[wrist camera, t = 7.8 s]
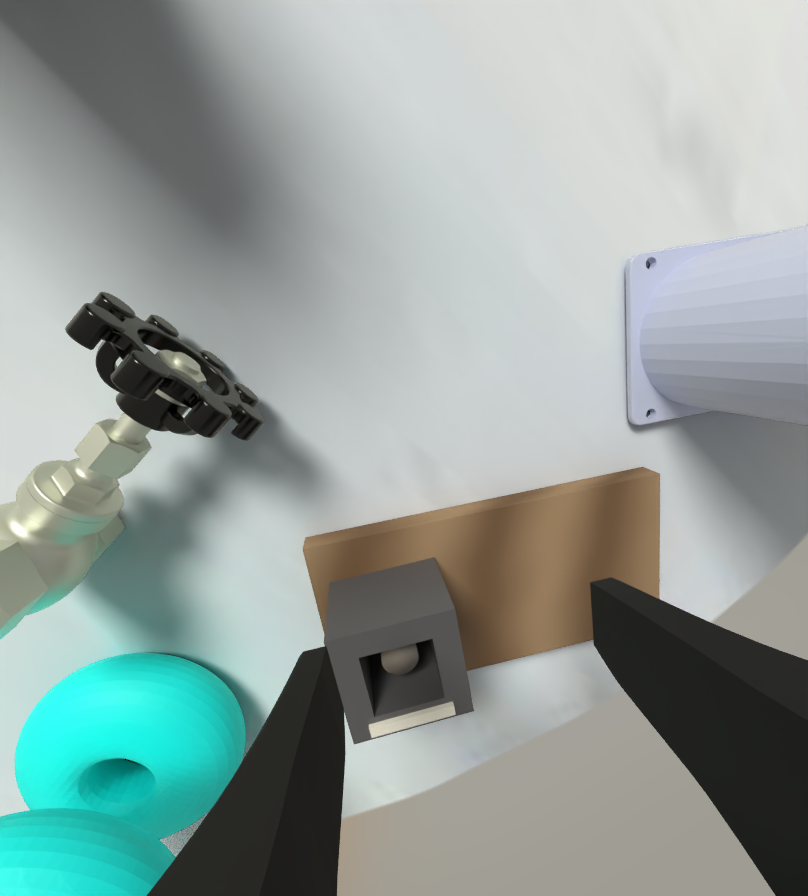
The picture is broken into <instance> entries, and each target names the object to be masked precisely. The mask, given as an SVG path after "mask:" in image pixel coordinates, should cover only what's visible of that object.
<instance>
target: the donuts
mask: <svg viewBox="0 0 808 896" xmlns="http://www.w3.org/2000/svg"><path fill="white" fill-rule="evenodd" d="M245 742H246V730H245V722H244V717H243V714H242V711H241V708H240V706H239V703H238V701H237V699H236V697H235V696H234V694H233V693H232V691H231V690H230V689H229V688H228V686H227V685H226V684H225V683H224V682H223V681H222V680H221V679H220V678H218V677H217V676H216V675H215V674H213V673H212V672H210V671H209V670H207V669H205V668H204V667H202V666H200V665H198V664H196V663H193V662H191V661H188V660H186V659H183V658H180V657H176V656H171V655H165V654H158V653H132V654H124V655H118V656H114V657H110V658H106V659H103V660H100V661H98V662H95V663H92V664H90V665H88V666H85V667H83V668H81V669H79V670H77V671H76V672H74V673H72V674H71V675H69V676H68V677H66V678H65V679H64V680H62V681H61V682H59V683H58V684H57V685H55V686H54V687H53V688H52V689H51V690H50V691H49V692H48V693H47V694H46V695H45V696H44V697H43V698H42V699H41V700H40V702H39V703H38V704H37V705H36V706H35V708H34V709H33V711H32V712H31V714H30V715H29V717H28V719H27V721H26V722H25V724H24V726H23V728H22V731H21V733H20V737H19V740H18V743H17V747H16V753H15V775H16V781H17V785H18V788H19V790H20V792H21V795H22V797H23V799H24V801H25V803H26V804H27V806H28V807H29V809H30V810H29V811H24V812H18V813H14V814H9V815H5V816H1V817H0V896H147V894H148V893H149V892H150V891H151V889H152V888H153V887H154V885H155V884H156V883H157V882H158V880H159V879H160V878H161V876H162V875H163V874H164V873H165V871H166V870H167V869H168V867H169V866H170V865H171V863H172V862H173V861H174V860H175V856H174V855H173V854H172V853H171V851H170V850H169V849H168V848H167V847H166V846H165V845H164V844H163V843H162V842H161V841H160V839H162V838H165V837H168V836H170V835H172V834H174V833H176V832H179V831H181V830H183V829H185V828H186V827H188V826H190V825H191V824H193V823H194V822H196V821H197V820H199V819H200V818H201V817H202V816H204V815H205V814H206V813H207V812H208V811H209V810H211V809H212V807H213V806H214V804H215V803H216V801H217V800H218V798H219V797H220V795H221V794H222V792H223V791H224V789H225V788H226V786H227V785H228V783H229V782H230V780H231V779H232V777H233V776H234V774H235V772H236V771H237V769H238V767H239V766H240V764H241V762H242V758H243V754H244V750H245ZM124 759H128V760H132V761H135V762H138V763H134V762H130V761H127V760H124Z"/></svg>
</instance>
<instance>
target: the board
mask: <svg viewBox="0 0 808 896" xmlns="http://www.w3.org/2000/svg"><path fill="white" fill-rule="evenodd" d="M659 548H660V474H659V473H657V472H654V471H652V470H649V469H647V468H644V467H641V468H636V469H631V470H626V471H622V472H617V473H612V474H607V475H602V476H598V477H593V478H588V479H583V480H579V481H574V482H569V483H564V484H559V485H555V486H550V487H545V488H540V489H536V490H531V491H526V492H521V493H516V494H512V495H507V496H502V497H497V498H493V499H488V500H483V501H478V502H473V503H469V504H464V505H459V506H454V507H450V508H445V509H440V510H435V511H431V512H426V513H421V514H416V515H411V516H407V517H402V518H397V519H392V520H388V521H383V522H378V523H373V524H368V525H364V526H359V527H354V528H349V529H345V530H340V531H335V532H330V533H325V534H321V535H316V536H311V537H306V538H305V542H304V546H303V553H304V556H305V560H306V564H307V568H308V572H309V576H310V580H311V584H312V588H313V591H314V595H315V599H316V603H317V607H318V611H319V615H320V619H321V622H322V626H323V630H324V634H325V625H326V614H327V603H328V592H329V583H331V582H335V581H339V580H343V579H347V578H351V577H355V576H359V575H363V574H368V573H372V572H376V571H380V570H384V569H388V568H392V567H396V566H400V565H404V564H408V563H412V562H416V561H421V560H425V559H429V558H433V557H434V558H435V560H436V563H437V565H438V568H439V570H440V573H441V575H442V578H443V580H444V583H445V585H446V588H447V590H448V593H449V595H450V598H451V600H452V602H453V605H454V607H455V611H456V617H457V622H458V628H459V633H460V639H461V644H462V650H463V655H464V660H465V666H466V671H468V670H472V669H476V668H480V667H484V666H489V665H493V664H497V663H501V662H505V661H509V660H513V659H517V658H521V657H525V656H529V655H533V654H537V653H541V652H545V651H549V650H553V649H557V648H561V647H565V646H569V645H574V644H578V643H582V642H586V641H590V640H594V639H593V623H592V607H591V590H590V582H593V581H598V580H602V579H606V578H610V577H612V578H614V579H617V580H619V581H621V582H624V583H626V584H628V585H630V586H632V587H634V588H637V589H639V590H641V591H643V592H645V593H647V594H649V595H652V596H654V597H656V598H658V599H659ZM418 659H419V656H418V651H417V646H416V643H414V644H410V645H407V646H403V647H399V648H395V649H391V650H388V651H384V652H381V661H382V666H383V668H384V669H385V670H386V671H387V672H389V673H391V674H395V675H401V674H405V673H408V672H410V671H411V670H412V669H413V668H414V667H415V666H416V665H417V663H418Z"/></svg>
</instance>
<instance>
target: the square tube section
mask: <svg viewBox="0 0 808 896" xmlns="http://www.w3.org/2000/svg"><path fill="white" fill-rule="evenodd" d="M414 643H416V646H417V651H418V656H419V659H418V663H417V665H416V666H415V667H414V668H413V669H412V670H411V671H410V672H408V673H405V674H401V675H395V674H391V673H389V672H387V671H386V670H385V669H384V668H383V666H382V661H381V652H384V651H388V650H391V649H395V648H399V647H403V646H407V645H410V644H414ZM324 644H325V646H327V650H328V653H329V657H330V661H331V664H332V668H333V671H334V675H335V678H336V682H337V686H338V689H339V693H340V696H341V700H342V704H343V707H344V712H345V715H346V719H347V722H348V725H349V729H350V732H351V736H352V739H353V742H354V744H357V743H361V742H364V741H368V740H372V739H375V738H379V737H382V736H386V735H390V734H393V733H397V732H400V731H404V730H407V729H411V728H415V727H418V726H422V725H425V724H429V723H433V722H436V721H440V720H443V719H447V718H450V717H454V716H458V715H461V714H465V713H468V712H472V711H474V709H473V704H472V698H471V693H470V688H469V682H468V677H467V671H466V666H465V660H464V655H463V650H462V644H461V639H460V633H459V628H458V622H457V617H456V611H455V607H454V605H453V602H452V600H451V598H450V595H449V593H448V590H447V588H446V585H445V583H444V580H443V578H442V575H441V573H440V570H439V568H438V565H437V563H436V560H435V558H434V557H433V558H429V559H425V560H421V561H416V562H412V563H408V564H404V565H400V566H396V567H392V568H388V569H384V570H380V571H376V572H372V573H368V574H363V575H359V576H355V577H351V578H347V579H343V580H339V581H335V582H331V583H329V592H328V603H327V614H326V625H325V636H324Z"/></svg>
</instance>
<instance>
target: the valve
mask: <svg viewBox="0 0 808 896" xmlns="http://www.w3.org/2000/svg"><path fill="white" fill-rule="evenodd" d="M65 330H66V332H67V334H68V335H69V336H70V337H71V338H72V339H73V340H75V341H76V342H77V343H79V344H80V345H82V346H84V347H86V348H88V349H90V350H92V349H94V347H95V346H96V345H97V344H98V342H99V341H100V340H101V339H102V340H104V341H103V342H102V343H101V345H100V346H99V348H98V351H97V355H96V368H97V371H98V373H99V375H100V377H101V378H102V380H103V381H104V382H105V383H106V384H107V385H109V386H110V387H111V388H113V389H114V390H116V391H118V392H119V394H118V395H117V396H116V402H117V405H118V406H119V407H120V409H121V410H122V411H123V412H124V413H123V415H122V416H121V417H120V418H119V419H118V420H114V419H107V420H103V421H101V422H98V423H96V424H95V425H94V427H93V428H92V429H91V430H90V431H89V433H88V434H87V435H86V436H85V437H84V439H83V440H82V441H81V442H80V444H79V445H78V446H77V447H76V448H75V452H76V453H77V455H78V456H79V457H80V458H77V459H73V460H71V461H62V460H56V461H48V462H44V463H42V464H40V465H38V466H36V467H35V468H34V469H33V471H32V472H31V473H30V474H29V475H28V477H27V478H26V479H25V480H24V482H23V483H22V484H21V485H20V486H19V488H18V490H17V492H16V499H17V501H15V502H10V503H6V504H2V505H0V639H1V638H2V637H4V636H5V635H6V634H7V633H9V632H10V631H11V630H12V629H13V628H15V627H16V626H17V624H18V623H19V622H20V621H21V620H22V619H23V617H24V616H26V615H29V614H32V613H35V612H38V611H40V610H42V609H45V608H47V607H49V606H51V605H53V604H55V603H56V602H58V601H59V600H61V599H62V598H64V597H65V596H67V595H68V594H69V593H70V592H71V591H72V590H73V589H74V588H76V586H77V585H78V584H79V583H80V582H81V581H82V580H83V579H84V577H85V576H86V574H87V573H88V571H89V569H90V567H91V565H92V563H93V562H94V561H96V560H97V559H98V558H99V557H100V556H101V555H102V554H103V553H104V552H105V551H106V549H107V548H108V547H109V546H110V545H111V544H112V543H113V541H114V540H115V539H116V538H117V537H118V536H119V534H120V533H121V532H122V531H123V530H124V529H125V528H124V525H123V523H122V521H121V519H120V518H119V516H118V513H119V511H120V510H121V509H122V507H123V504H124V498H123V494H122V492H121V490H120V489H119V483H118V480H117V479H119V478H120V477H122V476H124V475H126V474H128V473H130V472H131V471H132V470H133V469H134V468H135V467H136V465H137V464H138V463H139V462H140V461H141V460H142V458H143V457H144V456H145V455H146V454H147V453H148V451H149V450H150V449H151V448H152V447H151V445H150V443H149V441H148V440H147V438H146V437H145V436H146V435H147V434H148V432H149V431H150V430H151V429H153V430H157V431H171V432H173V433H176V434H182V435H195V434H199V435H202V436H204V437H208V438H212V437H214V436H215V435H216V434H217V433H218V432H219V431H220V429H221V428H222V427H223V426H224V425H225V424H226V423H227V421H228V420H229V419H230V418H232V419H234V420H235V421H236V422H237V423H238V425H237V426H236V427H235V429H234V430H233V431H232V432H231V434H233V435H234V436H236V437H237V438H239V439H241V440H245V441H247V440H249V439H250V438H251V437H252V436H253V435H254V433H255V432H256V431H257V430H258V429H259V428H260V427H261V426H262V424H263V423H264V418H263V417H262V415H261V414H260V413H259V412H258V411H257V410H255V409H254V408H253V407H254V406H255V405H256V404H257V403H258V398H257V396H256V395H255V394H254V393H253V392H252V391H251V390H249V389H248V388H247V387H245V386H244V385H242V384H239V383H236V384H234V383H233V382H231V381H230V380H229V379H228V378H227V377H226V376H225V375H224V374H223V373H222V372H223V371H224V370H225V369H226V366H225V364H224V363H223V362H222V361H221V360H220V359H219V358H217V357H216V356H215V355H213V354H212V353H210V352H208V351H206V350H202V351H201V352H200V353H199V352H197V351H196V350H194V349H193V348H191V347H190V346H188V345H187V344H185V343H184V342H183V341H182V340H180V339H179V338H178V335H179V333H178V331H177V330H176V329H175V328H174V327H173V326H172V325H171V324H170V323H168V322H167V321H166V320H164V319H162V318H161V317H159V316H157V315H150V316H149V318H148V319H147V320H146V321H143V320H141V319H140V318H138V317H137V316H135V313H134V311H133V310H132V309H131V308H130V307H129V306H128V305H127V304H125V303H124V302H123V301H121V300H120V299H118V298H116V297H115V296H113V295H111V294H109V293H106V292H100V293H99V294H98V295H97V297H96V298H95V299H94V300H93V302H92V303H86V304H84V305H83V306H82V307H81V309H80V310H79V311H78V312H77V314H76V315H75V316H74V317H73V319H72V320H71V321H70V322H69V324H68V325H67V326H66V328H65ZM144 344H146V345H149V346H152V347H154V348H156V349H158V350H160V351H158V352H157V353H156V355H154V354H153V353H152V352H151V351H150V350H149V349H148V348H147V347H146V346H145V345H144ZM119 357H121V358H122V359H123V361H122V362H121V363H120V365H119V366H118V367H117V366H116V360H117V359H118V358H119ZM205 383H207V384H208V385H209V387H210V388H211V389H212V390H213V391H214V393H212V392H210V391H207V390H205V389H203V388H201V387H202V386H203V385H204V384H205ZM189 408H192V410H191V411H190V412H189V413H188V414H187V415H186V417H185V418H183V417H182V416H183V415H184V413H185V412H186V411H187V410H188V409H189Z"/></svg>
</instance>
